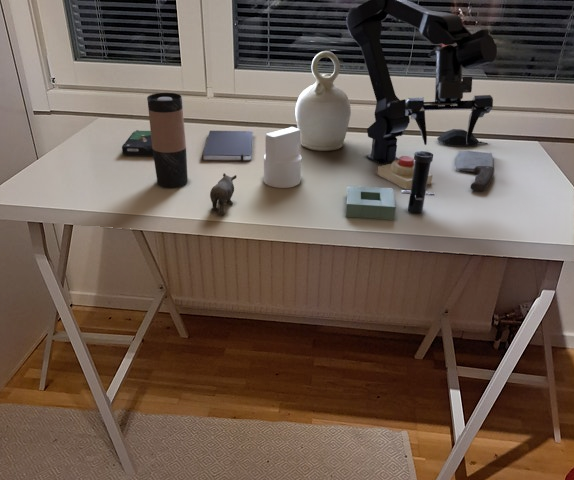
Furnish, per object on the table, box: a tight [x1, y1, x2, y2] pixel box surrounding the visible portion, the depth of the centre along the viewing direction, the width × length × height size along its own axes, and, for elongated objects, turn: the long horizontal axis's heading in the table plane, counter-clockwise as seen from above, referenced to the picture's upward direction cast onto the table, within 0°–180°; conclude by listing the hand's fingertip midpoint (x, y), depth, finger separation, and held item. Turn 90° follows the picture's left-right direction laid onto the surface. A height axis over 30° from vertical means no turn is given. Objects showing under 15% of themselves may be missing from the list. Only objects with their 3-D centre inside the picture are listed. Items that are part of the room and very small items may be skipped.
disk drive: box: [121, 129, 154, 157], centre depth 152 cm, size 10×3×15 cm
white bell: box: [295, 50, 352, 152], centre depth 152 cm, size 15×16×25 cm
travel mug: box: [146, 92, 189, 189], centre depth 127 cm, size 8×8×20 cm
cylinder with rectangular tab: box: [263, 126, 303, 189], centre depth 132 cm, size 9×9×12 cm
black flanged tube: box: [400, 150, 436, 215], centre depth 118 cm, size 7×7×13 cm
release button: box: [398, 155, 415, 167], centre depth 135 cm, size 4×4×2 cm
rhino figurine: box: [209, 172, 237, 216], centre depth 121 cm, size 4×14×6 cm, turn 171°
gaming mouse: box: [437, 128, 488, 147], centre depth 162 cm, size 6×15×4 cm, turn 88°
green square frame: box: [345, 185, 396, 221], centre depth 122 cm, size 10×10×3 cm
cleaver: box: [454, 150, 495, 192], centre depth 143 cm, size 29×10×2 cm, turn 163°
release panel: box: [377, 160, 433, 190], centre depth 137 cm, size 11×8×4 cm
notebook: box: [202, 130, 254, 162], centre depth 154 cm, size 13×2×21 cm
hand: (446, 144), depth 126 cm, fingers open, 9 cm apart
